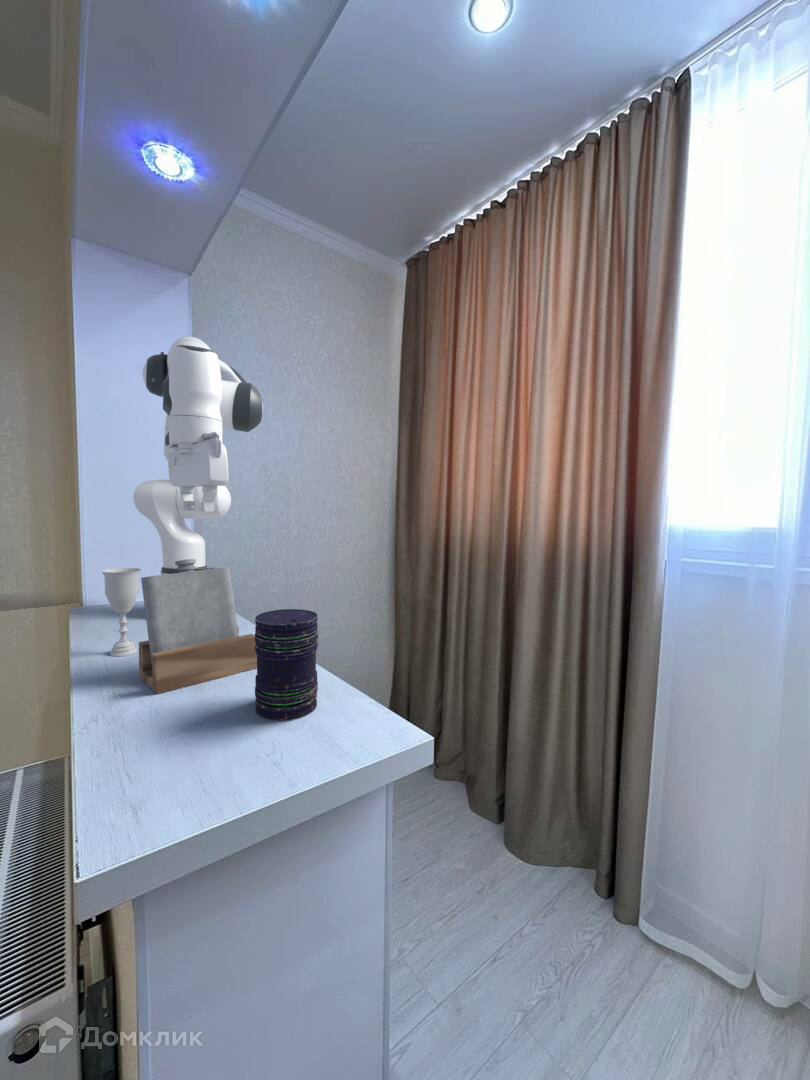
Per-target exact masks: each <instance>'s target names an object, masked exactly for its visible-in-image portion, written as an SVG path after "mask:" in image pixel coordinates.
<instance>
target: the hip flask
mask: <svg viewBox="0 0 810 1080" xmlns="http://www.w3.org/2000/svg"><path fill="white" fill-rule="evenodd" d="M194 563H196V560H195V559H186V560H180V561H176V562H175V566H178V568H177V571H179V572H178V573H174V574H166V575H161V574H159V575H158V574H157V575H149V576H143V577H140V581H141V587H142V588H141V590H142V596H143V597H142V598H143V604H144V613H145V614H144V615H145V619H146V628H147V629H146V630H147V635H148V636H147V637H148V640H149V646H150V654H151V662H152V653H157V652H162V651H167V650H172V649H177V648H182V647H188V646H193V645H198V644H203V643H208V642H213V641H218V640H223V639H228V638H233V637H238V636H240V634H238V620H237V615H236V614H237V613H236V606H235V605H236V604H235V600H234V598H235V597H234V591H233V583H232V577H231V570H230V569H231V568H230V566H223V567H215V566H211V567H210V566H209V567H207V568H196V566H194ZM201 569H207V570H201ZM195 570H199V571H195Z"/></svg>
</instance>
